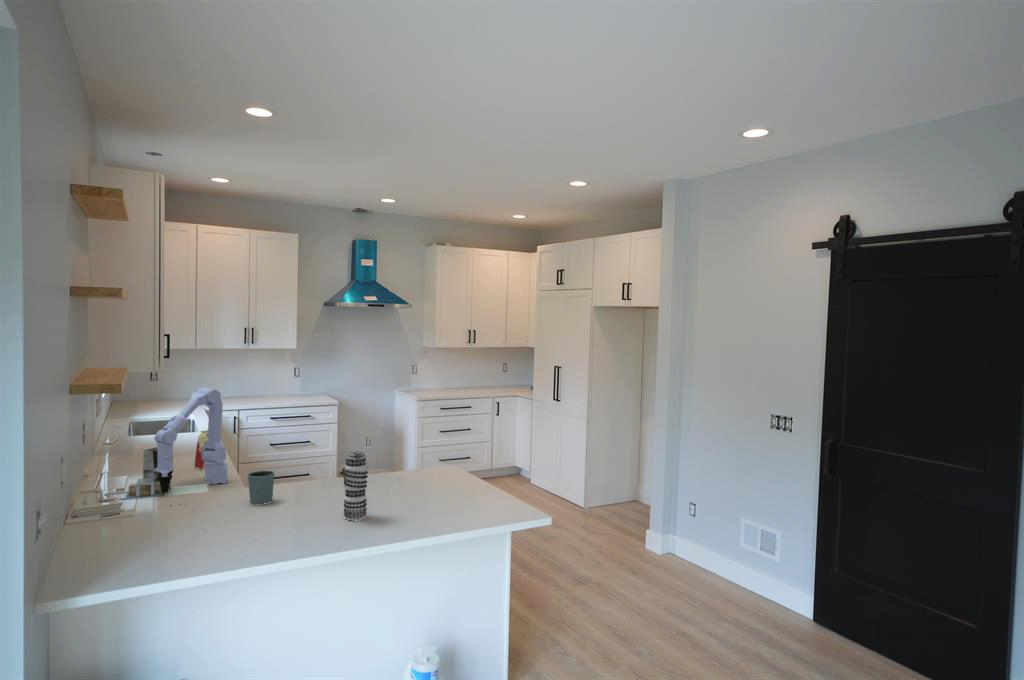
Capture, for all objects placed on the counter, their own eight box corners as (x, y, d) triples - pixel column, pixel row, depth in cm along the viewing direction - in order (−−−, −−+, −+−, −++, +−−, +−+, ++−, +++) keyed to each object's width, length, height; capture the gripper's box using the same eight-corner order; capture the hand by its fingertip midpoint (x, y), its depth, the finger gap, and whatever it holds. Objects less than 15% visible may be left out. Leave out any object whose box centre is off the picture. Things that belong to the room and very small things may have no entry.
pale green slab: (206, 487, 273) (206, 483, 273) (207, 495, 260) (207, 491, 260) (105, 496, 255) (105, 493, 255) (100, 506, 242) (100, 502, 242)
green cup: (278, 502, 252) (278, 473, 252) (254, 507, 244) (254, 477, 244) (267, 497, 259) (267, 469, 258) (243, 502, 251) (243, 473, 251)
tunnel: (155, 490, 261) (155, 477, 261) (154, 495, 253) (154, 482, 253) (137, 491, 258) (137, 478, 258) (136, 497, 250) (136, 483, 250)
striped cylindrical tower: (340, 515, 236) (341, 451, 236) (365, 513, 240) (365, 449, 239) (344, 522, 228) (345, 456, 227) (369, 520, 232) (370, 454, 231)
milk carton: (220, 467, 309) (221, 428, 309) (203, 471, 301) (203, 430, 301) (210, 465, 314) (210, 426, 313) (192, 468, 306) (193, 428, 306)
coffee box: (154, 487, 271) (155, 450, 271) (142, 486, 273) (142, 450, 272) (170, 481, 280) (170, 446, 280) (158, 481, 282) (158, 446, 281)
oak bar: (170, 490, 262) (170, 480, 262) (170, 492, 258) (170, 482, 258) (129, 494, 255) (129, 484, 254) (128, 496, 251) (128, 486, 251)
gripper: (155, 455, 263) (155, 486, 263) (153, 462, 250) (153, 495, 251) (173, 454, 266) (173, 485, 267) (173, 460, 254) (173, 493, 254)
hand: (165, 490), depth 259 cm, fingers open, 7 cm apart
